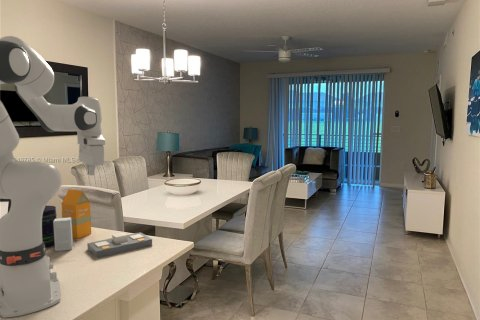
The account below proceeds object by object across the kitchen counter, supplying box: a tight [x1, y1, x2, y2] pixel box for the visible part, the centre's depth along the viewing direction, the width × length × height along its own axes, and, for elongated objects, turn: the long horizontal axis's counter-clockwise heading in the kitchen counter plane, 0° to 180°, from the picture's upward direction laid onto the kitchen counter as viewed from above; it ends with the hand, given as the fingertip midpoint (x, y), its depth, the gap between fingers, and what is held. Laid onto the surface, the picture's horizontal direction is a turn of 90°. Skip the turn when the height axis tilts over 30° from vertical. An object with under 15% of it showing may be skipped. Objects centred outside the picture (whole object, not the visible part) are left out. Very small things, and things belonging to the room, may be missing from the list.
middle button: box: [111, 231, 128, 244], centre depth 145 cm, size 4×4×3 cm
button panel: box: [87, 232, 153, 259], centre depth 145 cm, size 11×22×3 cm, turn 129°
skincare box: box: [53, 217, 74, 252], centre depth 142 cm, size 6×4×12 cm
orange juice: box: [61, 189, 92, 239], centre depth 158 cm, size 8×9×20 cm
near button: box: [94, 241, 110, 248], centre depth 141 cm, size 4×4×3 cm
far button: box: [129, 234, 144, 240], centre depth 149 cm, size 4×4×3 cm
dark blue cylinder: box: [42, 205, 57, 249], centre depth 146 cm, size 10×10×15 cm
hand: (91, 175), depth 142 cm, fingers closed
